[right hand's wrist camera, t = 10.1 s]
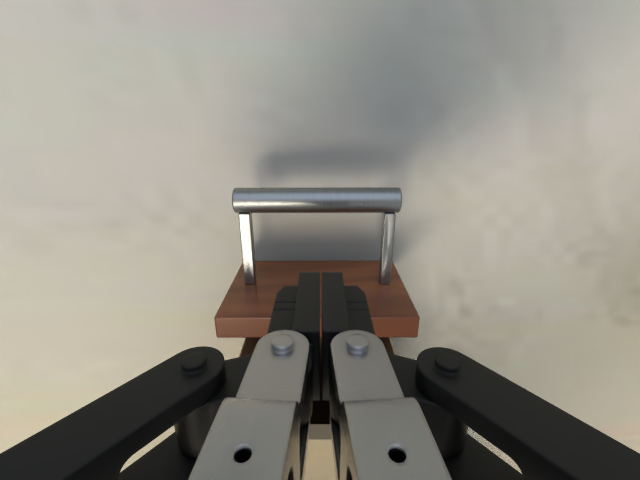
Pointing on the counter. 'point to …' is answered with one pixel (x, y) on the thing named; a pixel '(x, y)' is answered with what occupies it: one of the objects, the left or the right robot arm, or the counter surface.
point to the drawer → (315, 269)
